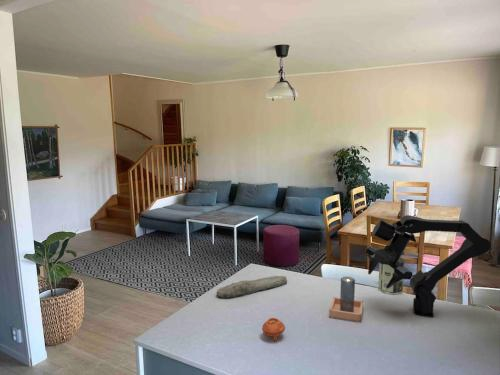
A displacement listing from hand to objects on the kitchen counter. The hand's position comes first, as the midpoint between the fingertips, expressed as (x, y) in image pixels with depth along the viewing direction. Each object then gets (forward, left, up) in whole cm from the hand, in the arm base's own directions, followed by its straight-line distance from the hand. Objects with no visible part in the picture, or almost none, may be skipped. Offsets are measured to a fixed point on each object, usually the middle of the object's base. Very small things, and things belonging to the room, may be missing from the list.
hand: (377, 281), depth 146 cm
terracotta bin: (+11, +7, -12) cm, 17 cm away
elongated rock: (+52, -2, -12) cm, 54 cm away
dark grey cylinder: (+11, +7, -11) cm, 17 cm away
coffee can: (-5, -21, -12) cm, 25 cm away
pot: (+33, +32, -12) cm, 47 cm away
